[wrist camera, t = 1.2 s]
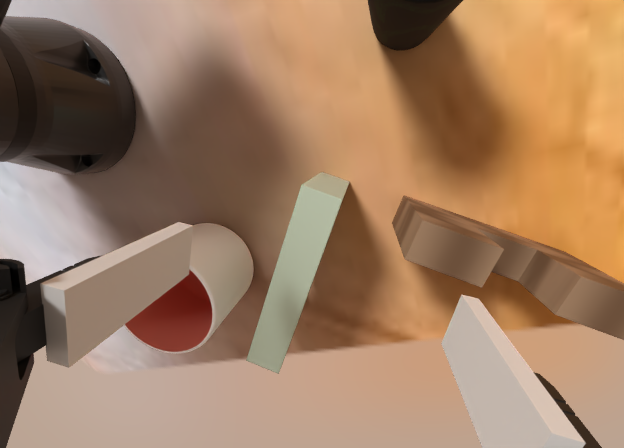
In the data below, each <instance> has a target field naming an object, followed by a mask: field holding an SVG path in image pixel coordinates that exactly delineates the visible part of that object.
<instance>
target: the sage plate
mask: <svg viewBox="0 0 624 448" xmlns="http://www.w3.org/2000/svg"><path fill="white" fill-rule="evenodd" d="M348 185H349V181H346V180H344V179H341V178H338V177H335V176H332V175H329V174H327V173H324V172H321V173H319V174H318V175H316V176H314V177H313V178H311V179H310V180H308V181H307V182H305V183H303V184H302V185H301V188H300V191H299V195H298V198H297V201H296V204H295V207H294V210H293V214H292V217H291V220H290V223H289V226H288V229H287V233H286V236H285V239H284V242H283V245H282V248H281V252H280V255H279V258H278V261H277V264H276V268H275V271H274V274H273V277H272V280H271V283H270V287H269V290H268V293H267V296H266V299H265V302H264V306H263V309H262V312H261V315H260V318H259V322H258V325H257V328H256V331H255V334H254V337H253V341H252V344H251V347H250V350H249V353H248V356H247V360H246V361H249V362H252V363H254V364H256V365H259V366H261V367H264V368H266V369H268V370H271V371H273V372H276V373H279V372H280V369H281V366H282V363H283V361H284V358H285V356H286V353H287V350H288V348H289V345H290V342H291V340H292V337H293V334H294V332H295V329H296V326H297V324H298V321H299V318H300V316H301V313H302V310H303V308H304V305H305V302H306V299H307V297H308V293H309V290H310V288H311V285H312V282H313V280H314V277H315V274H316V272H317V269H318V266H319V264H320V261H321V258H322V256H323V253H324V250H325V248H326V245H327V242H328V239H329V237H330V234H331V231H332V228H333V226H334V223H335V220H336V218H337V215H338V212H339V209H340V207H341V204H342V201H343V198H344V196H345V193H346V190H347V187H348Z"/></svg>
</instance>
